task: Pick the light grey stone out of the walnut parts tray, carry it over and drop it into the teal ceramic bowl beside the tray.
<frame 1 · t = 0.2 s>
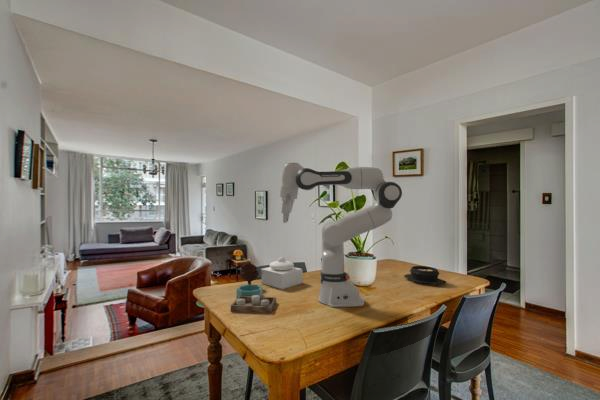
hand: (285, 222, 144), 39 cm above the table, tool pointing down, fingers open, 8 cm apart
butter dish: (281, 283, 172), on the table
pebble a: (255, 304, 134), resting on tray
pebble b: (264, 309, 128), resting on tray
tray: (254, 307, 131), on the table
black hat: (424, 282, 178), on the table
ice cream bowl: (249, 288, 161), on the table
bowl: (249, 297, 146), on the table
pebble c: (240, 308, 129), resting on tray
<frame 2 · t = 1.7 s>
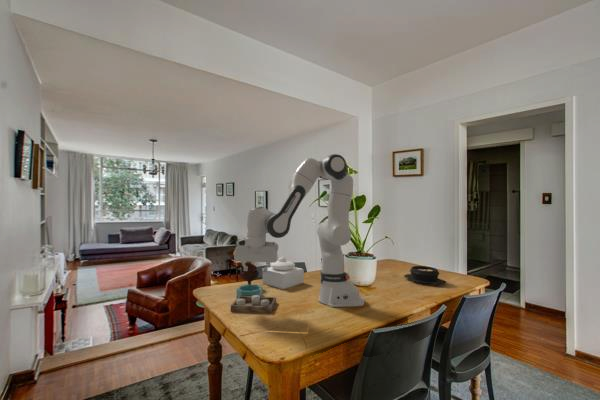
hand: (255, 271, 134), 16 cm above the table, tool pointing down, fingers open, 8 cm apart
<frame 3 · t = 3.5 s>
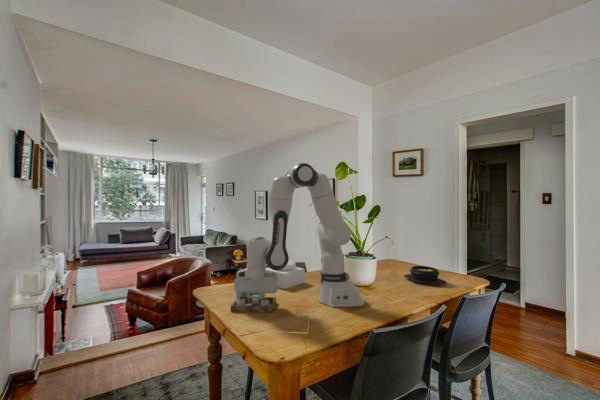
hand: (255, 301, 134), 2 cm above the table, tool pointing down, fingers closed on pebble a, 4 cm apart
pebble a: (255, 304, 134), resting on tray, touching gripper
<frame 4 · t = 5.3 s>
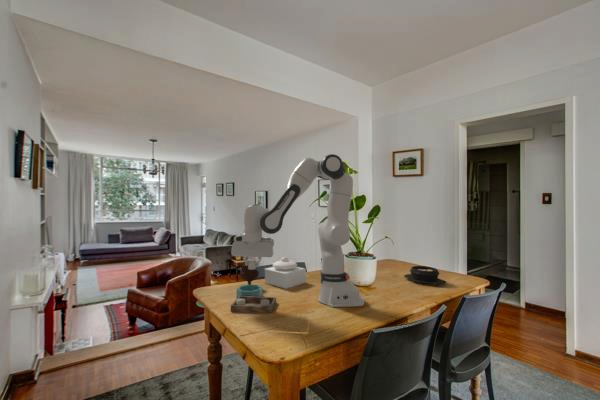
hand: (252, 265, 139), 17 cm above the table, tool pointing down, fingers closed on pebble a, 4 cm apart
pebble a: (252, 268, 139), point 16 cm above the table, touching gripper
when the fingers open (6 cm above the table, at t = 7.3 s): pebble a drops 3 cm, resting on bowl.
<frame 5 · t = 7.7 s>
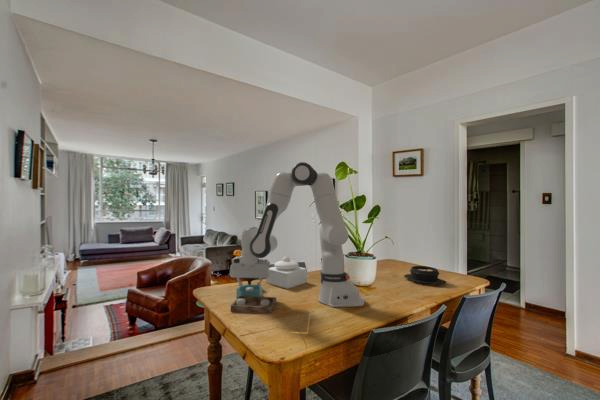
hand: (249, 286, 146), 6 cm above the table, tool pointing down, fingers open, 8 cm apart
pebble a: (249, 295, 145), point 1 cm above the table, touching bowl
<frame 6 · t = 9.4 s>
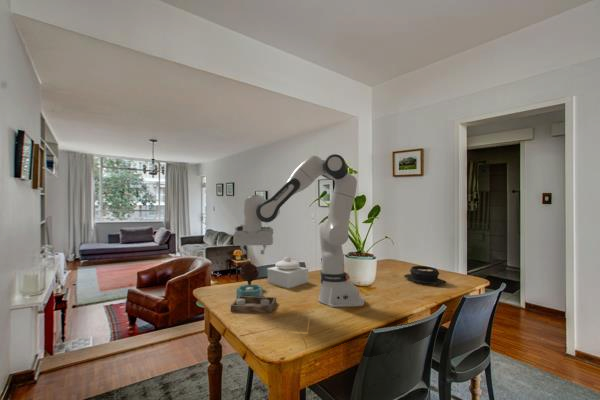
hand: (253, 254, 146), 22 cm above the table, tool pointing down, fingers open, 8 cm apart
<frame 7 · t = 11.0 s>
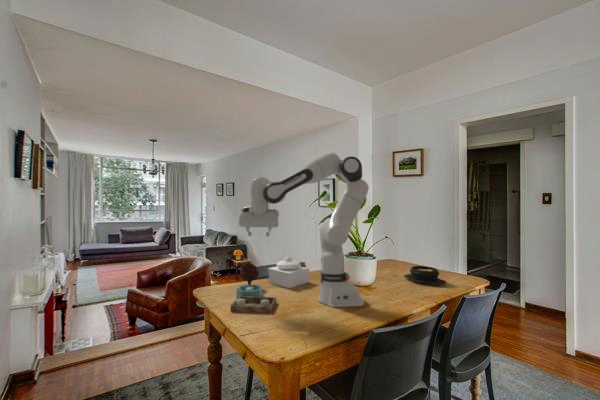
hand: (258, 235, 148), 31 cm above the table, tool pointing down, fingers open, 8 cm apart
at the end: pebble a 0.1 cm from the bowl (horizontally); pebble a point 0.8 cm above the table; the gripper is holding nothing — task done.
